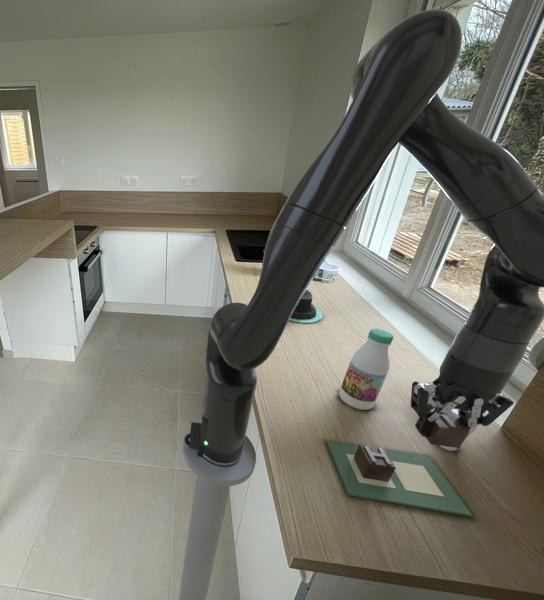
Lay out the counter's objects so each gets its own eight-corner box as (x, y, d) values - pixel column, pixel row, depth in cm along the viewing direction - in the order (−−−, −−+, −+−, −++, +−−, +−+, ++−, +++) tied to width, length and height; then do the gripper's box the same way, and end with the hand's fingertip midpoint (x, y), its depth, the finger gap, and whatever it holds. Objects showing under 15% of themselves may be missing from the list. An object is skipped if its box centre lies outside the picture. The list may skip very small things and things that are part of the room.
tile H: (363, 478, 62) (370, 462, 60) (353, 458, 66) (359, 443, 64) (388, 482, 61) (396, 466, 59) (377, 461, 65) (384, 446, 63)
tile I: (430, 444, 56) (440, 426, 54) (415, 424, 60) (424, 407, 58) (459, 448, 55) (470, 430, 54) (442, 428, 59) (452, 410, 58)
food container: (318, 272, 171) (321, 261, 168) (341, 280, 162) (345, 267, 159) (305, 277, 165) (308, 264, 162) (328, 284, 156) (332, 271, 153)
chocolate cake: (256, 300, 134) (294, 296, 141) (278, 338, 124) (318, 332, 130) (275, 277, 123) (315, 273, 129) (301, 317, 112) (343, 311, 119)
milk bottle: (343, 385, 87) (367, 321, 79) (376, 400, 82) (405, 333, 74) (334, 399, 82) (358, 332, 74) (368, 415, 77) (399, 345, 69)
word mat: (348, 495, 59) (349, 493, 59) (326, 442, 70) (327, 440, 69) (471, 517, 56) (472, 514, 56) (428, 458, 67) (430, 456, 67)
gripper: (513, 348, 53) (466, 425, 60) (417, 338, 55) (383, 414, 62) (558, 377, 46) (499, 459, 53) (446, 364, 48) (404, 445, 55)
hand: (437, 434), depth 58 cm, fingers closed on tile I, 4 cm apart
